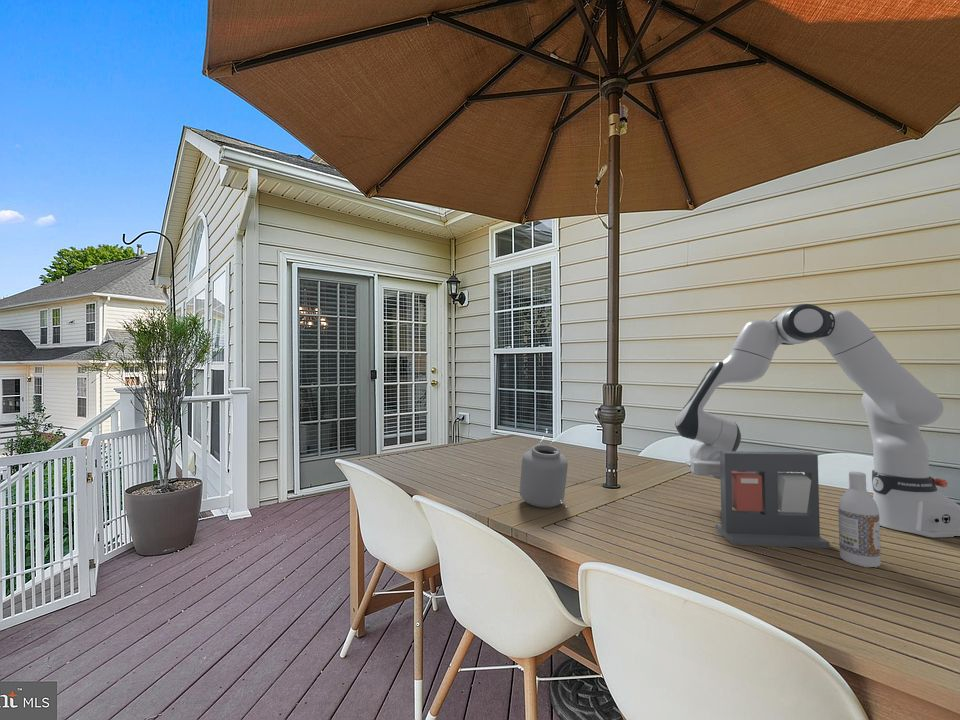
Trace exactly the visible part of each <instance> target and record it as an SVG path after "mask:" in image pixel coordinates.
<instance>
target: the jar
mask: <svg viewBox="0 0 960 720" xmlns="http://www.w3.org/2000/svg"><path fill="white" fill-rule="evenodd" d="M545 430H546V431H545V433H547V434H548V428H545ZM544 437H545V436H542V439H541V441H539V442H540V443H541V442H542V440H543V439H545V438H544ZM552 442H554V440H552ZM552 442H551V443H552ZM568 462H569V461H568V460H567V458H566V456H565V455H563V454H562V453H561V450H560V449H559V448H558V447H555V446H552V445H549V444H535V445H533V446H532V447H531V449H530V450H527V451H525V452H524V453H523V455H522V459H521V469H520V482H519V496H520V497H521V499H522V500H524V502H525V503H527V504H528V505H531V506H533V507H536V508H541V509H542V508H543V509H549V508H555V507H557V506H559V505H561V504H563V501H564V499H565V493H566V492H565V491H566V485H567V484H566V483H567V474H568V465H569V463H568ZM565 508H567V506H565Z"/></svg>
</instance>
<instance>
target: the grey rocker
mask: <svg viewBox="0 0 960 720" xmlns="http://www.w3.org/2000/svg"><path fill="white" fill-rule="evenodd" d="M777 476H778V511H779V512H799V513H807V508H808V501H809V494H810V487H811V480H810V479H809V478H808V477H806V476H805V473H804V472H777Z"/></svg>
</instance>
